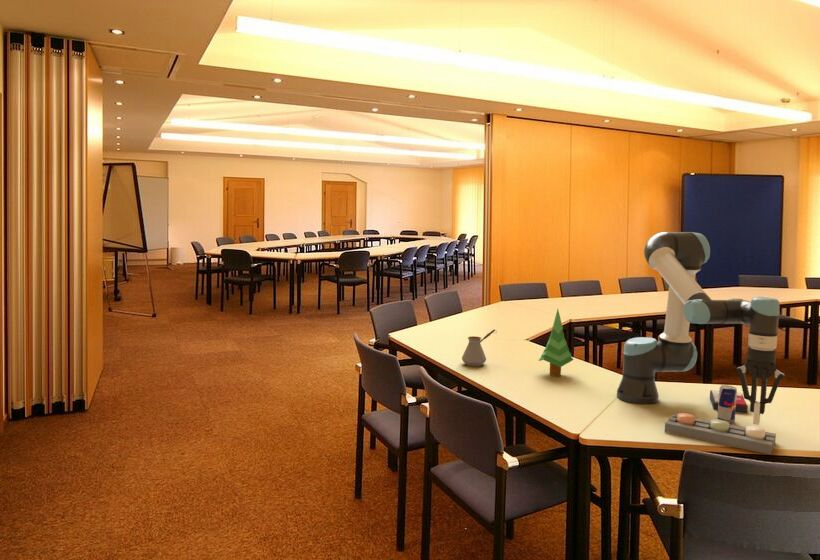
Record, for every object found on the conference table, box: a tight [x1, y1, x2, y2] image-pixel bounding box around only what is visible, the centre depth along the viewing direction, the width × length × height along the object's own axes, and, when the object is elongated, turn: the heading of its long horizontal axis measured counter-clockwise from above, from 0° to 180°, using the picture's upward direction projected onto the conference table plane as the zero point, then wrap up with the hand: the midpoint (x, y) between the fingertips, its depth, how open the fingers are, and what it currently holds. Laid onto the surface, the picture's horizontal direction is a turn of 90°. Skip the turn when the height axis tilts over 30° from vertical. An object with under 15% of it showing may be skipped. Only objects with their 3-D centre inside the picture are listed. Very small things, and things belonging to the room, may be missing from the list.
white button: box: [745, 425, 766, 440], centre depth 185 cm, size 5×5×3 cm
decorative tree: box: [538, 308, 574, 377], centre depth 263 cm, size 14×16×30 cm
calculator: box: [709, 389, 748, 414], centre depth 225 cm, size 11×4×15 cm
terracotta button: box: [677, 412, 696, 426], centre depth 197 cm, size 5×5×3 cm
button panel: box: [664, 413, 777, 455], centre depth 192 cm, size 30×12×3 cm, turn 53°
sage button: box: [710, 419, 730, 433], centre depth 191 cm, size 5×5×3 cm
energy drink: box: [717, 384, 738, 424], centre depth 207 cm, size 5×5×12 cm
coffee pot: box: [461, 329, 498, 367], centre depth 284 cm, size 21×12×15 cm, turn 134°
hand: (756, 423), depth 185 cm, fingers closed
